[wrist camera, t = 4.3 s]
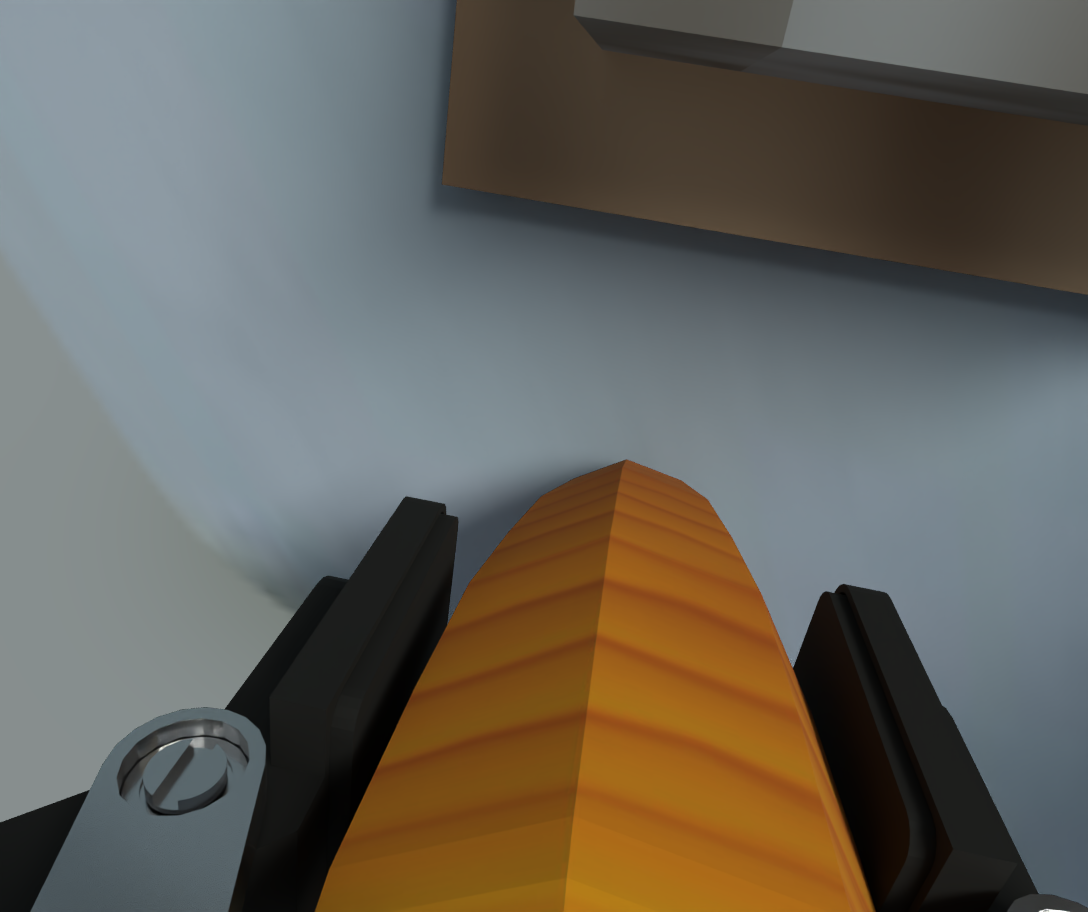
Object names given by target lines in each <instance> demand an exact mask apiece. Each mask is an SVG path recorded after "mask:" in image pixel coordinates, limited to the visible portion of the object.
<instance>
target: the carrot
mask: <svg viewBox="0 0 1088 912" xmlns="http://www.w3.org/2000/svg"><path fill="white" fill-rule="evenodd" d="M315 912H876V910H875V906H874V903H873V900H872V896H871V893H870V889H869V886H868V883H867V879H866V876H865V873H864V869H863V866H862V863H861V859H860V856H859V853H858V850H857V847H856V844H855V841H854V838H853V835H852V832H851V829H850V826H849V823H848V820H847V817H846V814H845V811H844V808H843V805H842V802H841V799H840V796H839V793H838V790H837V787H836V785H835V782H834V779H833V776H832V773H831V770H830V767H829V764H828V761H827V758H826V755H825V752H824V749H823V746H822V743H821V740H820V737H819V734H818V731H817V728H816V725H815V722H814V719H813V716H812V713H811V711H810V708H809V706H808V704H807V701H806V699H805V696H804V694H803V692H802V689H801V687H800V685H799V682H798V680H797V678H796V675H795V673H794V670H793V668H792V666H791V663H790V661H789V659H788V656H787V654H786V651H785V649H784V647H783V644H782V642H781V640H780V637H779V635H778V632H777V630H776V628H775V625H774V623H773V621H772V618H771V616H770V614H769V611H768V609H767V606H766V604H765V602H764V599H763V597H762V595H761V592H760V591H759V589H758V587H757V585H756V583H755V581H754V579H753V577H752V575H751V573H750V571H749V569H748V568H747V566H746V564H745V562H744V560H743V558H742V556H741V554H740V552H739V550H738V548H737V546H736V544H735V543H734V541H733V539H732V537H731V535H730V534H729V532H728V531H727V529H726V528H725V526H724V524H723V523H722V521H721V520H720V518H719V517H718V515H717V513H716V512H715V510H714V509H713V507H712V506H711V504H710V503H709V501H708V499H706V498H705V497H703V496H702V495H701V494H699V493H698V492H696V491H695V490H694V489H692V488H691V487H689V486H688V485H687V484H685V483H684V482H683V481H681V480H679V479H676V478H673V477H671V476H668V475H666V474H663V473H660V472H658V471H655V470H653V469H650V468H648V467H645V466H642V465H640V464H637V463H635V462H632V461H629V460H627V459H626V460H624V461H621V462H618V463H615V464H613V465H610V466H607V467H604V468H602V469H599V470H596V471H593V472H591V473H588V474H585V475H582V476H580V477H577V478H574V479H572V480H570V481H568V482H567V483H565V484H563V485H561V486H559V487H557V488H556V489H554V490H552V491H550V492H548V493H546V494H545V495H543V496H541V497H540V498H539V499H538V500H537V501H536V503H535V504H534V505H533V506H532V507H531V508H530V509H529V510H528V511H527V512H526V513H525V515H524V516H523V517H522V518H521V519H520V520H519V521H518V522H517V523H516V524H515V526H514V527H513V528H512V529H511V530H510V531H509V532H508V533H507V535H506V536H505V537H504V539H503V540H502V541H501V542H500V544H499V545H498V546H497V548H496V549H495V550H494V552H493V553H492V554H491V555H490V557H489V558H488V559H487V561H486V562H485V563H484V564H483V566H482V567H481V568H480V570H479V571H478V572H477V574H476V575H475V576H474V577H473V579H472V580H471V581H470V583H469V584H468V586H467V588H466V590H465V592H464V594H463V596H462V598H461V600H460V602H459V604H458V606H457V607H456V609H455V611H454V613H453V615H452V617H451V619H450V621H449V623H448V625H447V627H446V629H445V631H444V632H443V634H442V636H441V638H440V640H439V642H438V644H437V646H436V648H435V650H434V652H433V654H432V656H431V658H430V659H429V661H428V663H427V665H426V667H425V669H424V671H423V673H422V675H421V677H420V679H419V681H418V683H417V684H416V686H415V688H414V690H413V693H412V695H411V697H410V699H409V701H408V703H407V705H406V707H405V710H404V712H403V714H402V716H401V718H400V720H399V722H398V724H397V727H396V729H395V731H394V733H393V735H392V737H391V739H390V741H389V743H388V746H387V748H386V750H385V752H384V754H383V756H382V758H381V760H380V763H379V765H378V767H377V769H376V771H375V773H374V775H373V777H372V780H371V782H370V784H369V786H368V788H367V790H366V792H365V794H364V797H363V799H362V801H361V803H360V805H359V807H358V809H357V811H356V814H355V816H354V818H353V820H352V822H351V824H350V826H349V828H348V831H347V833H346V835H345V837H344V839H343V841H342V843H341V845H340V848H339V850H338V852H337V854H336V856H335V858H334V860H333V862H332V865H331V867H330V869H329V872H328V875H327V877H326V880H325V883H324V886H323V889H322V892H321V895H320V898H319V901H318V904H317V906H316V909H315Z"/></svg>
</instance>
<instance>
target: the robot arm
mask: <svg viewBox="0 0 1088 912" xmlns="http://www.w3.org/2000/svg"><path fill="white" fill-rule="evenodd" d="M457 532H458V517H455V516H450V515H446V506H445V504H442V503H437V502H432V501H427V500H422V499H417V498H412V497H405V498H404V499H403V500H402V502H401V503H400V505H399V506H398V508H397V509H396V511H395V512H394V513H393V515H392V516H391V518H390V519H389V521H388V522H387V524H386V525H385V527H384V528H383V530H382V531H381V533H380V534H379V536H378V537H377V539H376V540H375V542H374V543H373V545H372V546H371V548H370V549H369V551H368V552H367V553H366V555H365V556H364V558H363V559H362V561H361V562H360V564H359V565H358V567H357V568H356V570H355V571H354V573H353V574H352V576H351V577H350V579H349V580H347V579H342V578H337V577H332V576H326V577H323V578H322V579H321V580H320V581H319V582H318V583H317V585H316V586H315V587H314V589H313V590H312V591H311V593H310V594H309V595H308V597H307V598H306V600H305V601H304V602H303V604H302V605H301V606H300V608H299V609H298V610H297V612H296V613H295V614H294V616H293V617H292V619H291V620H290V621H289V623H288V624H287V625H286V627H285V628H284V629H283V631H282V632H281V633H280V635H279V636H278V638H277V639H276V640H275V642H274V643H273V644H272V646H271V647H270V648H269V650H268V651H267V653H266V654H265V655H264V657H263V658H262V659H261V661H260V662H259V663H258V665H257V666H256V667H255V669H254V670H253V672H252V673H251V674H250V676H249V677H248V678H247V680H246V681H245V682H244V684H243V685H242V686H241V688H240V689H239V690H238V692H237V693H236V695H235V696H234V697H233V699H232V700H231V701H230V703H229V704H228V705H227V707H226V708H225V709H217V708H208V707H203V708H193V709H182V710H179V711H176V712H172V713H169V714H166V715H163V716H159V717H157V718H155V719H153V720H151V721H149V722H147V723H145V724H144V725H142V726H140V727H138V728H136V729H135V730H133V731H132V732H131V733H130V734H128V735H127V736H126V737H125V738H124V739H123V740H121V741H120V742H119V743H118V744H117V745H116V746H115V747H114V749H113V750H112V751H111V753H110V754H109V756H108V757H107V759H106V760H105V761H104V763H103V764H102V766H101V768H100V770H99V773H98V775H97V777H96V779H95V781H94V783H93V785H92V787H91V789H90V790H88V791H85V792H83V793H80V794H77V795H75V796H72V797H69V798H66V799H64V800H61V801H58V802H56V803H53V804H50V805H47V806H44V807H42V808H39V809H36V810H34V811H31V812H28V813H25V814H23V815H20V816H17V817H14V818H11V819H9V820H6V821H4V822H0V912H315V909H316V906H317V904H318V901H319V898H320V895H321V892H322V889H323V886H324V883H325V880H326V877H327V875H328V872H329V869H330V867H331V865H332V862H333V860H334V858H335V856H336V854H337V852H338V850H339V848H340V845H341V843H342V841H343V839H344V837H345V835H346V833H347V831H348V828H349V826H350V824H351V822H352V820H353V818H354V816H355V814H356V811H357V809H358V807H359V805H360V803H361V801H362V799H363V797H364V794H365V792H366V790H367V788H368V786H369V784H370V782H371V780H372V777H373V775H374V773H375V771H376V769H377V767H378V765H379V763H380V760H381V758H382V756H383V754H384V752H385V750H386V748H387V746H388V743H389V741H390V739H391V737H392V735H393V733H394V731H395V729H396V727H397V724H398V722H399V720H400V718H401V716H402V714H403V712H404V710H405V707H406V705H407V703H408V701H409V699H410V697H411V695H412V693H413V690H414V688H415V686H416V684H417V683H418V681H419V679H420V677H421V675H422V673H423V671H424V669H425V667H426V665H427V663H428V661H429V659H430V658H431V656H432V654H433V652H434V650H435V648H436V646H437V644H438V642H439V640H440V638H441V636H442V634H443V632H444V631H445V629H446V627H447V621H448V613H449V604H450V595H451V586H452V577H453V568H454V559H455V550H456V541H457ZM793 670H794V673H795V675H796V678H797V680H798V682H799V685H800V687H801V689H802V692H803V694H804V696H805V699H806V701H807V704H808V706H809V708H810V711H811V713H812V716H813V719H814V722H815V725H816V728H817V731H818V734H819V737H820V740H821V743H822V746H823V749H824V752H825V755H826V758H827V761H828V764H829V767H830V770H831V773H832V776H833V779H834V782H835V785H836V787H837V790H838V793H839V796H840V799H841V802H842V805H843V808H844V811H845V814H846V817H847V820H848V823H849V826H850V829H851V832H852V835H853V838H854V841H855V844H856V847H857V850H858V853H859V856H860V859H861V863H862V866H863V869H864V873H865V876H866V879H867V883H868V886H869V889H870V893H871V896H872V900H873V903H874V906H875V910H876V912H1088V908H1087V907H1085V906H1083V905H1081V904H1079V903H1077V902H1074V901H1070V900H1067V899H1064V898H1061V897H1058V896H1055V895H1046V894H1038V892H1037V890H1036V888H1035V886H1034V884H1033V882H1032V880H1031V878H1030V876H1029V874H1028V872H1027V870H1026V868H1025V865H1024V863H1023V861H1022V859H1021V857H1020V855H1019V853H1018V851H1017V849H1016V847H1015V845H1014V843H1013V841H1012V839H1011V837H1010V835H1009V833H1008V831H1007V829H1006V827H1005V824H1004V822H1003V820H1002V818H1001V816H1000V814H999V812H998V810H997V808H996V806H995V804H994V802H993V800H992V798H991V796H990V794H989V792H988V790H987V788H986V785H985V783H984V781H983V779H982V777H981V775H980V773H979V771H978V769H977V767H976V765H975V763H974V761H973V759H972V757H971V755H970V753H969V751H968V749H967V747H966V744H965V742H964V740H963V738H962V736H961V734H960V732H959V730H958V728H957V726H956V724H955V722H954V720H953V718H952V716H951V715H950V713H949V712H948V710H947V709H946V708H945V707H943V706H942V704H941V702H940V700H939V698H938V696H937V694H936V692H935V690H934V688H933V686H932V684H931V682H930V679H929V677H928V675H927V673H926V671H925V669H924V667H923V665H922V663H921V661H920V659H919V657H918V654H917V652H916V650H915V648H914V646H913V644H912V642H911V640H910V638H909V636H908V634H907V632H906V629H905V627H904V625H903V623H902V621H901V619H900V617H899V615H898V613H897V611H896V609H895V607H894V604H893V602H892V600H891V598H890V597H889V595H888V594H887V593H884V592H881V591H876V590H871V589H866V588H861V587H856V586H851V585H846V584H842V585H840V586H839V587H838V588H837V589H836V591H835V593H832V592H827V591H826V592H824V593H823V594H822V595H821V596H820V599H819V601H818V603H817V606H816V609H815V611H814V614H813V617H812V619H811V622H810V625H809V627H808V630H807V633H806V635H805V638H804V641H803V643H802V646H801V649H800V651H799V654H798V657H797V659H796V662H795V665H794V667H793Z"/></svg>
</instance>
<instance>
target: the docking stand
mask: <svg viewBox="0 0 1088 912" xmlns="http://www.w3.org/2000/svg"><path fill="white" fill-rule="evenodd" d="M442 184H443V185H448V186H454V187H460V188H466V189H472V190H478V191H483V192H489V193H495V194H501V195H507V196H513V197H519V198H524V199H530V200H536V201H542V202H548V203H554V204H560V205H565V206H571V207H577V208H583V209H589V210H595V211H600V212H606V213H612V214H618V215H624V216H630V217H636V218H641V219H647V220H653V221H659V222H665V223H671V224H676V225H682V226H688V227H694V228H700V229H706V230H712V231H717V232H723V233H729V234H735V235H741V236H747V237H752V238H758V239H764V240H770V241H776V242H782V243H788V244H793V245H799V246H805V247H811V248H817V249H823V250H829V251H834V252H840V253H846V254H852V255H858V256H864V257H869V258H875V259H881V260H887V261H893V262H899V263H905V264H910V265H916V266H922V267H928V268H934V269H940V270H945V271H951V272H957V273H963V274H969V275H975V276H981V277H986V278H992V279H998V280H1004V281H1010V282H1016V283H1021V284H1027V285H1033V286H1039V287H1045V288H1051V289H1057V290H1062V291H1068V292H1074V293H1080V294H1086V295H1088V0H457V5H456V17H455V29H454V41H453V54H452V66H451V78H450V91H449V103H448V115H447V127H446V140H445V152H444V164H443V177H442Z"/></svg>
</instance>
